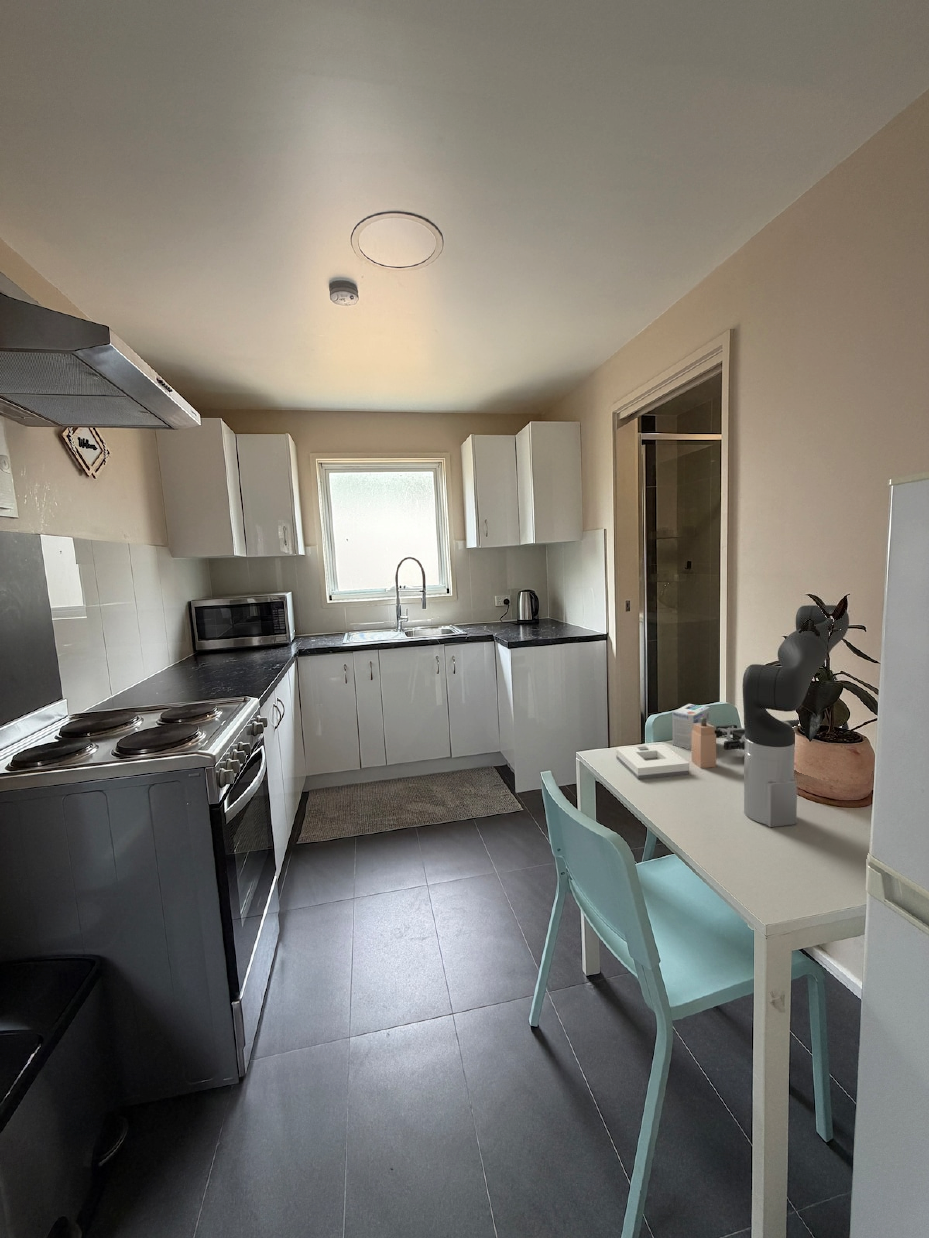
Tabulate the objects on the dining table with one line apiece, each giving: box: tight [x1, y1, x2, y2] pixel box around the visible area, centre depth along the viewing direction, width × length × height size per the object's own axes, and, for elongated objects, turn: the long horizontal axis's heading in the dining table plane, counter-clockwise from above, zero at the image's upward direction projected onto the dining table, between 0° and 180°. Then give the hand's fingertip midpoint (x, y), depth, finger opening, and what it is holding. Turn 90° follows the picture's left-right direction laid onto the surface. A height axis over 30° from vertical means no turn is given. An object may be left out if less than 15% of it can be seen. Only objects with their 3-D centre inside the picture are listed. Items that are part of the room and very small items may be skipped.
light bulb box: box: [671, 703, 711, 750], centre depth 153 cm, size 11×7×11 cm, turn 130°
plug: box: [691, 717, 717, 769], centre depth 138 cm, size 4×4×13 cm
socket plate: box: [615, 743, 690, 780], centre depth 139 cm, size 14×14×3 cm
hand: (715, 740), depth 138 cm, fingers open, 8 cm apart
